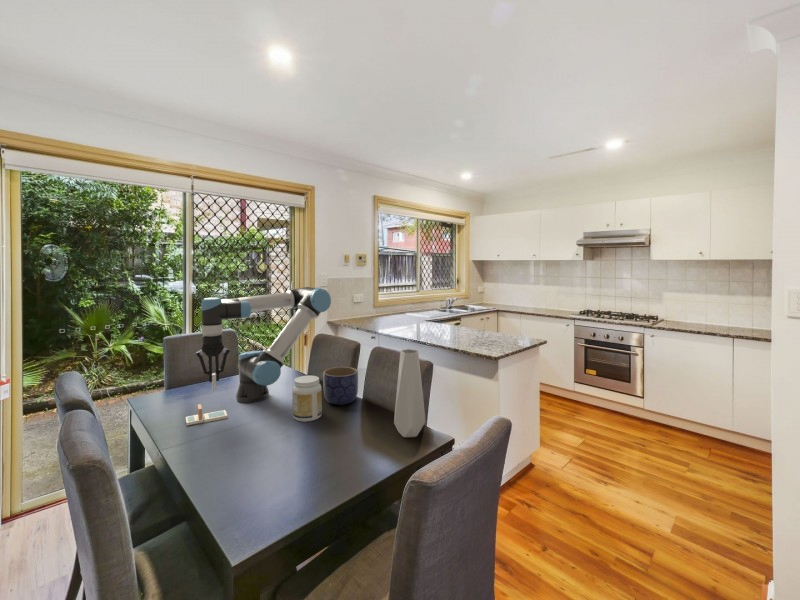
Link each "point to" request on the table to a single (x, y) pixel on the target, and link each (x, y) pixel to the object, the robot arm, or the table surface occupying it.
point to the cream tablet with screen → (214, 416)
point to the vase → (409, 395)
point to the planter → (340, 385)
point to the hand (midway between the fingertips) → (214, 388)
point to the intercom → (195, 417)
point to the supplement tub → (307, 398)
